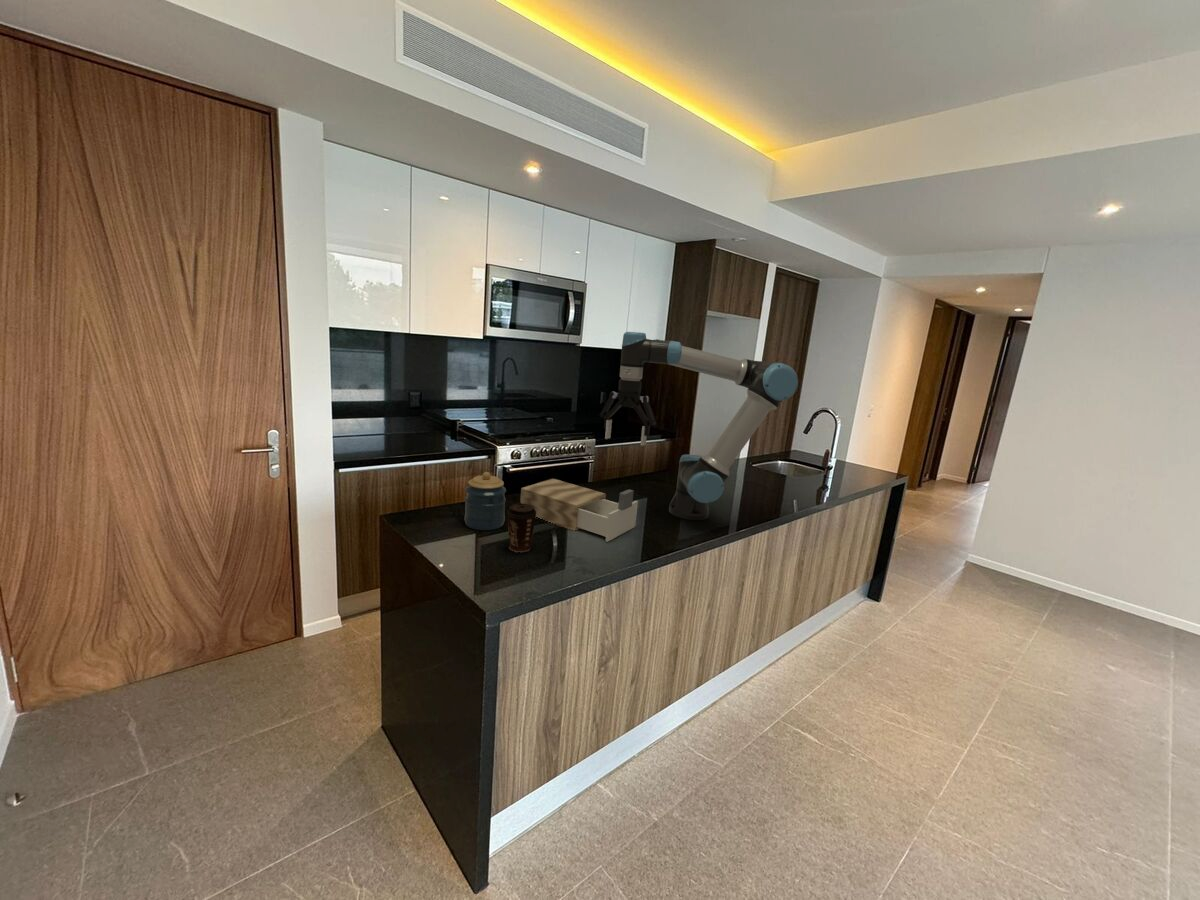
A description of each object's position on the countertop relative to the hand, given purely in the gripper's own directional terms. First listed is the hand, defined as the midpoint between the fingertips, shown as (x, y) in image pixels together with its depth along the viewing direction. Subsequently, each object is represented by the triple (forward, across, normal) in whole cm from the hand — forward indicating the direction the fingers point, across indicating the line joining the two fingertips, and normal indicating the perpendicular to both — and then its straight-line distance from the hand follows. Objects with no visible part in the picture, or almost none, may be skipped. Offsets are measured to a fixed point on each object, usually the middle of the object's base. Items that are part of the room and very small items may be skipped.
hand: (625, 441), depth 171 cm
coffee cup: (+29, -12, -40) cm, 51 cm away
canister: (+28, -33, -33) cm, 54 cm away
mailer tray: (+29, -5, -10) cm, 30 cm away
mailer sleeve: (+29, -18, -9) cm, 35 cm away
